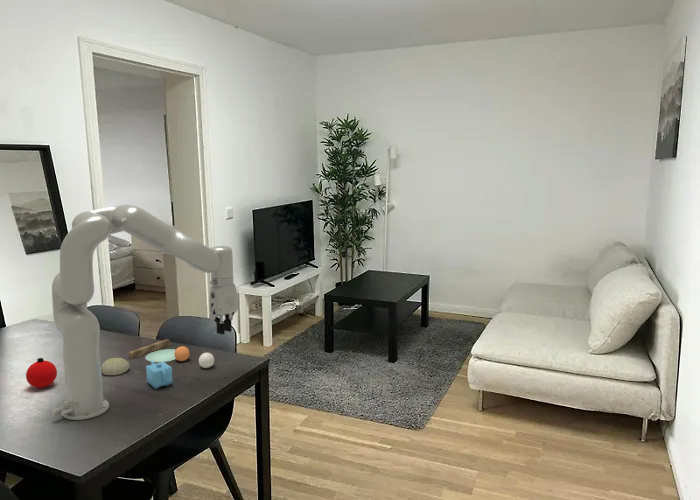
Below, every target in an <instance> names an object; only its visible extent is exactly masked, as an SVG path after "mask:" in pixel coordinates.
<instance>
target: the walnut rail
mask: <svg viewBox="0 0 700 500" xmlns="http://www.w3.org/2000/svg"><path fill="white" fill-rule="evenodd" d="M170 342H171V340H170V339H167V338H165V339H163V340H160V341H157V342H154V343H151V344H148V345H145V346H141V347H139V348H136V349H133V350H130V351H128V352H127V353H128V359H130V360H134V359H137V358H140V357H142V355H143V356H146V355H148V354H149V353H151V352H153V351H156V350H157V351H158V350H163V349H166V348H167V347H170V346H171V343H170Z"/></svg>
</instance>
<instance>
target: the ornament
mask: <svg viewBox="0 0 700 500" xmlns="http://www.w3.org/2000/svg"><path fill="white" fill-rule="evenodd" d="M57 376H58V369H57V367H56V365H55V364H54V363H52V362H51V361H49V360H44V358H43V357H39V358H37V359H36V361H34V362H33V363H32V364H31V365H30V366H29V367H28V368H27V370H26V372H25V377H26V381H27V383H28V384H29V385H30V386H31V387H33V388H37V389H42V388H47V387H49V386H51V385H52V384H53V383H54V382H55V380H57V379H56V378H57Z"/></svg>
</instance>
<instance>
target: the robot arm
mask: <svg viewBox="0 0 700 500" xmlns="http://www.w3.org/2000/svg"><path fill="white" fill-rule="evenodd" d="M121 232H122V233H123V232H124V233H127V234H129V235H131V236H133V237H135V238H136V239H138V240H140V241H142V242H143V243H144V244H147V245H148V246H151V247H152V248H154V249H156V250H157V251H160V252H162V253H164V254H166V255H170V256H171V257H172V256H173V257H175V258H178V259H179V260H182V261H183V262H185V264H187V266H188V267H189V268H191V269H194V270H197V271H200V272H203V273H205V274H206V273H207V274H210V281H209V284H210V288H209V299H208V300H209V301H208V302H209V303H208V308H209V309H208V311H209V316H208V319H210V320H213V321H214V323H215V324H216V334H219V335H225V333H226V332H230V333H231V332H232V329H233V328H232V321H233V318H234V315H235V314H236V313H237V312H238V309H239V298H238V297H239V296H238V292H237V287H236V284H235V283H234V260H233V259H234V257H233V248H232V247H230V246H227V245H217V246H213V247H208V246H206V245H205V244H202V243H201V242H200V241H198V240H196V239H194V238H192V237H190V236H188V235H186V234H185V233H184V232H182V231H180V230H179V229H177V228H176V227H175V228H174V227H173V226H171V225H169V224H168V223H167V222H164V221H163V220H161V219H159V218H157V217H156V216H154V215H153V214H151V213H150V212H148V211H146V210H144V209H143V208H140V207H138V206H136V205H131V204H120V205H115V206H110V207H104V208H100V209H94V210H88V211H83V212H80V213H78V214H77V215H75V216H74V217H73V219H72V222H71V229H70V231H68V232H67V234H66V235H65V237H64V238H63V241H62V242H61V246H60V250H59V272H58V273H56V275H55V276H54V279H53V280H52V282H51V283H52V284H51V294H52V295H51V297H52V298H51V299H52V314H53V316H52V317H53V321H54V325H55V327H56V329H57V330H58V331H59V332H60V333H61V334H62V337H63V347H62V348H63V350H62V351H63V352H62V354H63V364H64V374H65V375H64V376H65V388H66V398H67V399H65V400H63V404H61V405H60V406H59V407H55V408H53V409H51V410H50V413H51V415H52V417H56V416H58V415H60V414H61V416H63V418H64V419H67V420H69V421H70V420H71V421H82V420H83V421H84V420H89V419H92V418H96V417H98V416H101V415H103V414H104V413H106V412H107V411H108V409H109V408H110V402H109V400H106V399H104V396H103V395H104V394H103V382H102V371H101V367H102V366H101V357H100V323H99V321H98V318H97V316H96V315H95V314H94V313H93V312H92V311H90V310H89V309H88V303H89V302H91V300H92V298H93V296H94V293H95V283H94V282H95V281H94V267H93V266H94V265H93V261H94V252H95V250H96V248H97V247H98V246H99V245H100V244H101V243H103V242H105V241H106V240H107V239H108V238H109V236H110V235H113V234H117V233H121Z"/></svg>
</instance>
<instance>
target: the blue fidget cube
mask: <svg viewBox="0 0 700 500" xmlns="http://www.w3.org/2000/svg"><path fill="white" fill-rule="evenodd" d="M150 363H151V364H149V365H146V366H145V371H146V372H145V373H146V382H147V383H148V384H149V385H150V386H152V387H153V388H154V389H155V390H156V389H159V388H160V387H164V386H165V387H166V386H170V385H172V384H173V383H174V381H173V368H172V366H171V365H169V364H167V362H154V361H151V362H150Z"/></svg>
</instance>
